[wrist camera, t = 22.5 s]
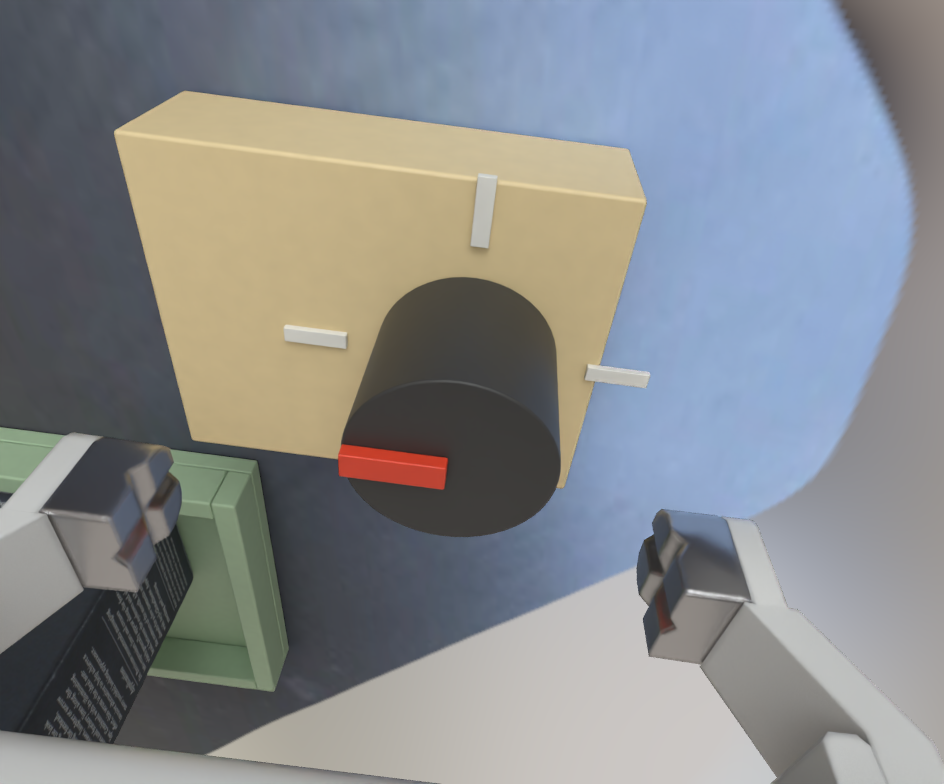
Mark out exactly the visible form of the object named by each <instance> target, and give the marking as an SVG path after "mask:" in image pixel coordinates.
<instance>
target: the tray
mask: <svg viewBox="0 0 944 784" xmlns="http://www.w3.org/2000/svg"><path fill="white" fill-rule="evenodd" d="M64 436H65V435H57V434H49V433H42V432H34V431H26V430H19V429H11V428H3V427H0V491H1V492H9V493H15V491H16V490H17V489H18V488H19V487H20V486H21V484H22V483H23V482H24V481H25V480H26V479H27V478H28V476H29V475H30V474H31V473H32V472H33V471H34V469H35V468H36V467H37V466H38V465H39V464H40V462H41V461H42V460H43V459H44V458H45V457H46V455H47V454H48V453H49V452H50V451H51V450H52V449H53V447H54V446H55V445H56V444H57V443H58V442H59V440H60V439H61V438H62V437H64ZM170 451H171V454H172V457H173V460H174V463H173V465H172V466H171V468H170V470H169V472H170V473H171V474H172V475H174V476H175V477H176V478H177V479H178V480H179V482H180V486H181V490H182V505H181V509H180V512H179V516H178V520H177V522H176V523H177V526H178V529H179V532H180V536H181V539H182V541H183V545H184V547H185V551H186V553H187V556H188V559H189V561H190V565H191V568H192V571H193V581H192V583H191V585H190V587H189V589H188V591H187V594H186V596H185V598H184V600H183V602H182V604H181V606H180V608H179V610H178V612H177V615H176V617H175V619H174V621H173V623H172V625H171V627H170V629H169V631H168V633H167V635H166V637H165V639H164V641H163V643H162V645H161V647H160V649H159V651H158V653H157V655H156V658H155V659H154V661H153V663H152V665H151V667H150V669H149V671H148V673H147V675H149V676H157V677H164V678H172V679H180V680H187V681H195V682H203V683H210V684H218V685H226V686H233V687H241V688H249V689H258V690H265V691H272V692H273V691H275V688H276V685H277V682H278V679H279V676H280V673H281V670H282V667H283V664H284V659H285V658H286V655H287V652H288V649H289V646H288V640H287V634H286V628H285V622H284V616H283V610H282V605H281V599H280V593H279V587H278V581H277V575H276V569H275V563H274V557H273V551H272V545H271V539H270V533H269V527H268V521H267V515H266V509H265V504H264V498H263V492H262V486H261V480H260V474H259V468H258V462H257V461H256V460H248V459H241V458H233V457H225V456H218V455H210V454H202V453H195V452H187V451H179V450H172V449H170Z"/></svg>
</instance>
